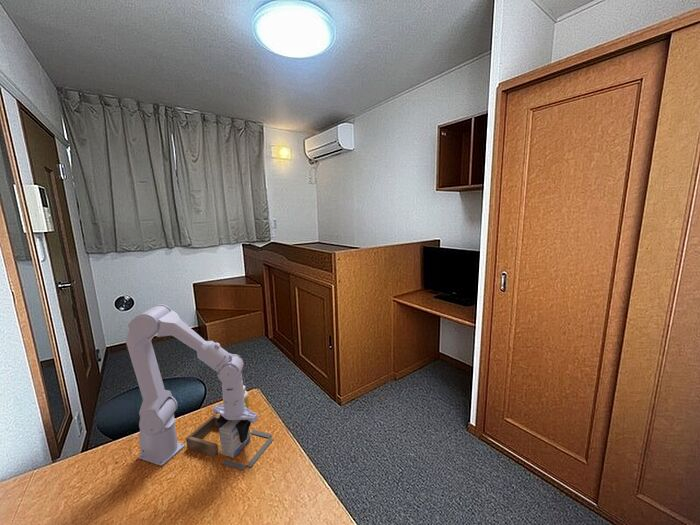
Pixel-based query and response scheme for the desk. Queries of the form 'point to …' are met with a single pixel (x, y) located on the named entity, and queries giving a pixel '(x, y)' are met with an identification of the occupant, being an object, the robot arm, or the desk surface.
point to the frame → (257, 455)
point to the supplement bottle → (246, 398)
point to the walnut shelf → (196, 437)
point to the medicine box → (231, 439)
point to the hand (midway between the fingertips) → (237, 438)
